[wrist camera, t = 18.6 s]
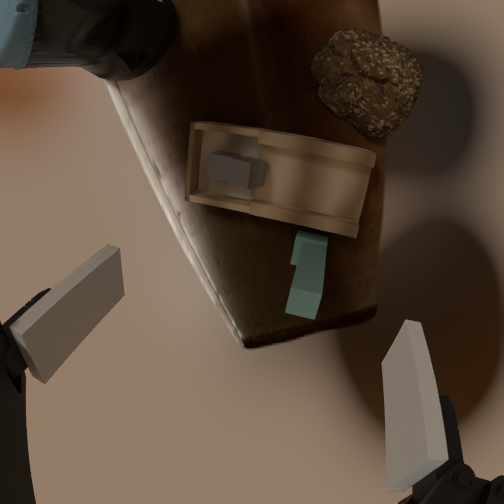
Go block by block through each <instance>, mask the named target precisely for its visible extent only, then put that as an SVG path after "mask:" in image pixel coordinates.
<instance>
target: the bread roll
mask: <svg viewBox="0 0 504 504" xmlns="http://www.w3.org/2000/svg"><path fill="white" fill-rule="evenodd" d="M311 65H312V66H311V71H312V75H313V77H314V79H315V81H316V82H317V83H318V84H319V85H320V87H319V88H320V89H319V90H318V92H317V95H318V96H319V99H320V100H321V101H322V102H323V103H324V104H325V105H326V106H327V107H328V108H330V109H331V110H332V111H333V113H335V114H336V115H338V116H339V117H343V118H345V119H346V120H348V121H349V122H350V123H352V124H353V126H355V127H356V128H357V130H358V131H359V132H360V133H361V134H363V133H364V134H366V135H367V136H370V137H371V138H375V137H382V136H385V135H390V132H392V131H395V130H397V129H399V128H400V127H401V126H400V125H401V124H403V122H404V120H406V119H407V117H408V116H409V115H410V112H411V111H412V108H413V106H414V105H415V102H416V100H417V96H418V93H419V91H420V87H421V86H422V85H421V82H422V81H423V80H424V78H423V77H424V69H423V66H422V64H421V63H420V61H419V60H418V59H417V58H416V57H415V56H414V54H412V53H411V52H410V51H409V50H408V49H407V48H405V47H403V46H402V45H401V44H398V43H397V42H394V41H392V40H389V38H388V37H386V36H383V37H382V36H378V35H375V34H372V33H370V32H366V31H363V30H357V29H354V30H350V29H347V30H346V31H342V30H341V31H339V32H337V33H335V34H334V36H332V37H331V38H330V39H329V42H328V44H327V45H326V46H324V48H323V50H322V51H320V52H318V53H317V54H316V55H315V56H314V58H313V59H312V61H311Z"/></svg>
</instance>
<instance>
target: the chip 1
mask: <svg viewBox="0 0 504 504" xmlns="http://www.w3.org/2000/svg"><path fill="white" fill-rule="evenodd" d="M234 157H241V154H240V153H233V152H226V151H219V150H218V151H215V152H212V153H210V154H209V162H208V173H207V178H210V179H216V180H222V181H228V173H229V164H230V158H234Z"/></svg>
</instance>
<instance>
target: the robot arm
mask: <svg viewBox="0 0 504 504" xmlns="http://www.w3.org/2000/svg"><path fill="white" fill-rule="evenodd" d="M174 28H175V12H174V8H173V5H172V3H171V1H170V0H0V68H14V69H16V70H19V69H22V68H37V67H65V66H66V67H69V66H70V67H71V66H75V67H82V68H83V69H85V70H87V71H89V72H91V73H92V74H94V75H96V76H98V77H100V78H103V79H107V80H129V79H133V78H135V77H138V76H140V75H142V74H143V73H145V72H146V71H148V70H149V69H150V68H152V67H153V66H154V65H155V64H156V63H157V62H158V61H159V59H160V58H161V57H162V56H163V54H164V53H165V51H166V50H167V48H168V46H169V44H170V41H171V39H172V36H173V33H174ZM124 295H125V294H124V286H123V276H122V266H121V255H120V248H118V247H114V246H111V245H106V246H105V247H104V248H102V249H101V250H100V251H98V252H97V253H96V254H95V255H93V256H92V257H91V258H90V259H88V260H87V261H86V262H85V263H83V264H82V265H81V266H79V267H78V268H77V269H76V270H75V271H73V272H72V273H71V274H70V275H68V276H67V277H66V278H65V279H63V280H62V281H61V282H60V283H58V285H56V286H55V287H54V288H53V289H50V288H48V289H46V290H44V291H42V292H40V293H38V294H37V295H36V296H35V297H33V298H32V299H31V301H29V302H28V303H26V304H25V306H23V307H22V308H21V309H20V310H18V312H16V313H15V314H14V315H13V316H12V317H11V318H10V319H9V320H7V321H6V322H5V323H4V324H3V325H2V324H1V322H0V504H36V501H35V496H34V490H33V484H32V478H31V471H30V463H29V453H28V442H27V428H26V376H25V372H24V371H25V369H26V368H27V367H28V368H29V370H30V372H31V374H32V376H33V377H35V378H36V379H38V380H39V381H41V382H42V383H44V384H46V382H47V381H48V380H49V379H50V378H51V377H52V375H53V374H54V373H55V372H56V371H57V370H58V368H59V367H60V366H61V365H62V364H63V362H64V361H65V360H66V359H67V358H68V357H69V356H70V354H71V353H72V352H73V351H74V350H75V349H76V348H77V346H78V345H79V344H80V343H81V342H82V341H83V340H84V339H85V337H86V336H87V335H88V334H89V333H90V332H91V331H92V330H93V329H94V328H95V326H96V325H97V324H98V323H99V322H100V321H101V320H102V319H103V318H104V317H105V315H106V314H107V313H108V312H109V311H110V310H111V309H112V308H113V307H114V306H115V305H116V304H117V303H118V302H119V301H120V299H121V298H122V297H123V296H124ZM382 372H383V386H384V402H385V425H386V486H385V491H386V492H404V491H405V490H407V489H409V488H410V487H413V494H411V495H409V496H408V497H406V498H404V499H403V500H401V501H400V502H399V503H398V504H402V503H403V504H504V476H503V475H501V476H498V477H497V478H495V479H494V480H492V481H488V480H485V479H481V478H478V477H475V474H474V471H473V470H472V469H471V468H470V466H468V465H466V464H464V461H463V455H462V448H461V442H460V436H459V430H458V429H457V427H458V425H457V420H456V414H455V410H454V406H453V404H452V402H451V401H450V399H449V398H448V396H444V395H438V391H437V386H436V381H435V377H434V372H433V368H432V364H431V360H430V356H429V352H428V348H427V344H426V340H425V337H424V333H423V329H422V326H421V323H420V322H415V321H410V320H405V322H404V324H403V326H402V328H401V329H400V331H399V333H398V335H397V337H396V339H395V341H394V342H393V344H392V346H391V348H390V349H389V351H388V353H387V355H386V357H385V358H384V360H383V362H382Z"/></svg>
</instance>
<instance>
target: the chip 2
mask: <svg viewBox="0 0 504 504" xmlns="http://www.w3.org/2000/svg"><path fill="white" fill-rule="evenodd" d="M266 166H267V161H264V160H260V159H256V158H252V157H248V156H244V157H234V158H230V164H229V173H228V183H229V184H232V185H235V186H238V187H241V188H244V189H247V190H248V189H253V188H257V187H262V186H264V180H265V173H266Z"/></svg>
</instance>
